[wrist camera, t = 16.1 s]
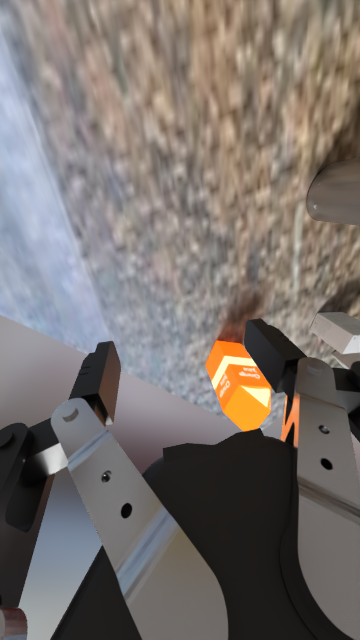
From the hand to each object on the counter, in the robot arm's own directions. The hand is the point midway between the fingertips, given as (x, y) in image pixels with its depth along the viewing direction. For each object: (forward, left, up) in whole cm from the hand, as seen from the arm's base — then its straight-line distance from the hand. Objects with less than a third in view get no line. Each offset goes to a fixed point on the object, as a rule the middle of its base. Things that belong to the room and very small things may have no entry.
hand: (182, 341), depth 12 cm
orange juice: (-14, +30, -29) cm, 44 cm away
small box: (-43, +24, -29) cm, 58 cm away
